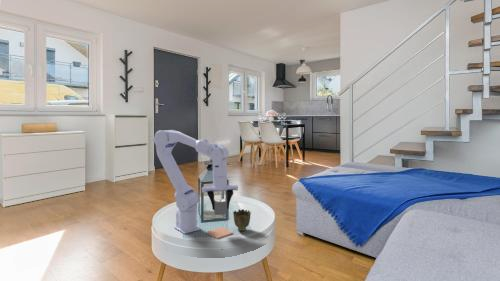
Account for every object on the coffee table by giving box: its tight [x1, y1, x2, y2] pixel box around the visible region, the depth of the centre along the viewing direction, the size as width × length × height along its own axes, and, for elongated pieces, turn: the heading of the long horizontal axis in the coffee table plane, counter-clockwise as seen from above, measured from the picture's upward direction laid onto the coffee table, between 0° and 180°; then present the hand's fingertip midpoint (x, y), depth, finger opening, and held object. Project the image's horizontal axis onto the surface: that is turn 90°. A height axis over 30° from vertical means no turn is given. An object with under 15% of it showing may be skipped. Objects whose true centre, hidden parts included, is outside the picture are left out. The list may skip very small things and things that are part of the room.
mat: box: [205, 226, 234, 240], centre depth 116 cm, size 8×8×1 cm
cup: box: [232, 209, 252, 232], centre depth 119 cm, size 8×7×8 cm
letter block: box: [213, 198, 228, 216], centre depth 116 cm, size 5×5×5 cm
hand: (220, 208), depth 116 cm, fingers closed on letter block, 5 cm apart
